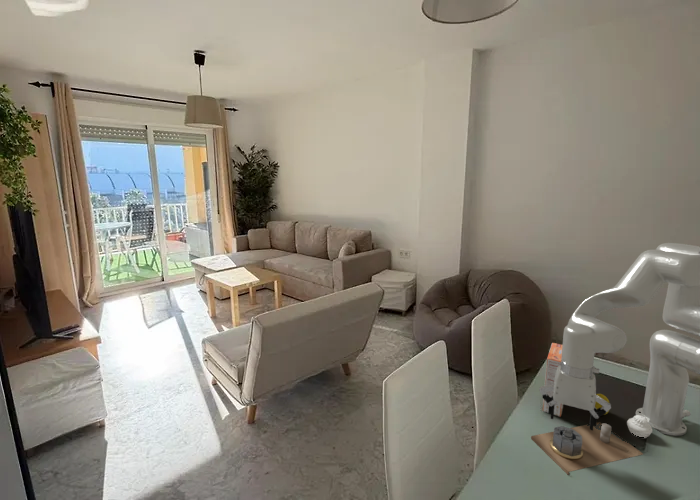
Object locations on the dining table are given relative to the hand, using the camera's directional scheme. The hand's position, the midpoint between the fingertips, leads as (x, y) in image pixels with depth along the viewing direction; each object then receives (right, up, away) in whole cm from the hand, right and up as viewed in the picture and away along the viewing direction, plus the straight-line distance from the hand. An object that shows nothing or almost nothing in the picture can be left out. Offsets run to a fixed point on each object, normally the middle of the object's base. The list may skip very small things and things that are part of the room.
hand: (571, 421), depth 102 cm
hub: (-1, -10, +2) cm, 10 cm away
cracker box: (+8, -6, +23) cm, 25 cm away
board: (+6, -9, +3) cm, 12 cm away
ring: (-1, -8, +1) cm, 8 cm away
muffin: (+26, -9, +8) cm, 28 cm away
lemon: (+20, -7, +18) cm, 28 cm away
